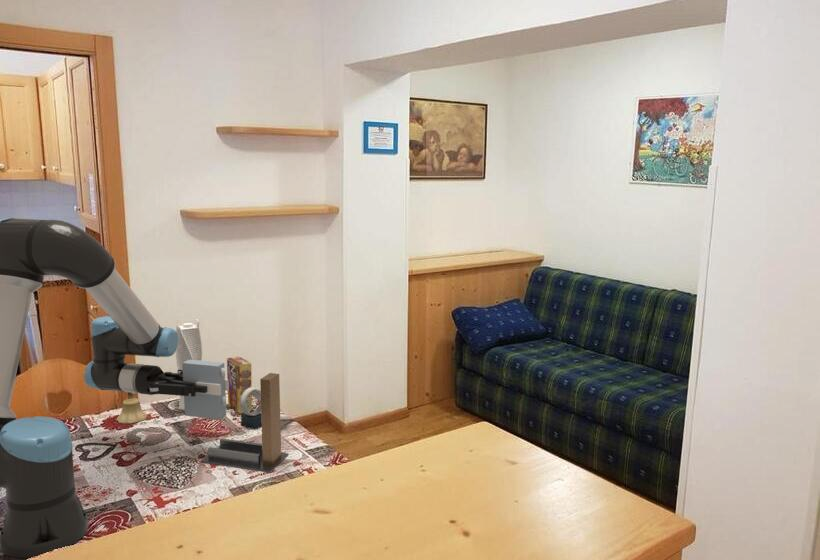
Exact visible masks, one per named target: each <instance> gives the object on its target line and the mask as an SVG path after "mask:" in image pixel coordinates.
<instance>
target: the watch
mask: <svg viewBox="0 0 820 560" xmlns="http://www.w3.org/2000/svg"><path fill="white" fill-rule="evenodd" d="M251 392H252V397H254V399H256V400H257V401H258V404H257V407H256V409H254V410H253V409H252V411H249V410H248V408H247V405H246V398H247V396H248V395H249V394H250V393H251ZM240 407H241V409H242V411H243V412H244V413H241V414H240V422H241V423H240V425H241V426H243V427H246V428H249V429H251V430H257V429H260V428H262V423H261V387H258V386H254V387H253V386H252V387H250V388H247V389H246V390H245V391H244V392H243V393H242V395H241V398H240Z"/></svg>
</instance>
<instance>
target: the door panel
mask: <svg viewBox="0 0 820 560" xmlns="http://www.w3.org/2000/svg"><path fill="white" fill-rule="evenodd" d="M182 366H183V381H185V382H191V383H195V385H196V382H204V383H214V384H221V395H210V394H201V393H196V392H195V396H193V397H191V394H190V393H189V395H188V396H184V406H185V411H184V416H185V417H196V418H202V419H203V418H204V419H211V420H222V419H223V418H225V417H226V416H227V395H226V394H227V393H226V390H225V379H226V368H225V367H226V366H225V362H220V361H210V360H209V361H207V360H202V361H199V360H187V361H185V362H183V363H182Z"/></svg>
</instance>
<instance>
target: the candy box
mask: <svg viewBox="0 0 820 560" xmlns="http://www.w3.org/2000/svg"><path fill="white" fill-rule="evenodd" d="M226 368H227V369H226V373H227V376H226V377H227V379H228V382H229V390H227V405H228V407H229V408H230V409H233V410H234V411H235V412H237V413H238V414H240V415H241V414H244V412H243V411H242V409H241V407H240V398H241V395H242V393H243V392H244V391H245V390H246V389H247V388H250V387H253V386H252V384H253V383H252V381H253V379H252V378H253V377H252V362H250V361H249V360H247V359H245V358H243V357H241V356H231V357H227V358H226ZM246 405H247V408H248V410H249V411H252V410H253V394H252V392H251V393H250V394H249V395H248V396H247V398H246Z"/></svg>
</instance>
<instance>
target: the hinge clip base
mask: <svg viewBox="0 0 820 560" xmlns="http://www.w3.org/2000/svg"><path fill="white" fill-rule="evenodd" d="M259 380H260V381H259V382H260V383H259V385H260V389H261V405H260V406H261V423H262V427H261V443H259V442H253V441H252V442H251V441H243V440H236V439H228V438H221V439H219V447H217V448H216V447H211V446H210V447H208V448H207V456H205V457H204V458H202V459H201V460H200V463H203V464H208V465H215V466H216V465H219V466H223V467H231V468H238V469H244V470H250V471H251V470H252V471H258V472H263V473H264V472H266V473H271V472H272V471H273V470H274V469H275V468H277V466H278V465H279V464H280V463H282V462H283V461H284V460H285V458H287V457H288V456H289V453H287V452H282V440H281V439H282V436H281V435H282V433H281V429H282V428H281V393H280V391H281V389H280V373H273V372H269V373H267V374H266V375H264V376H263V377H262V378H260V379H259Z"/></svg>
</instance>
